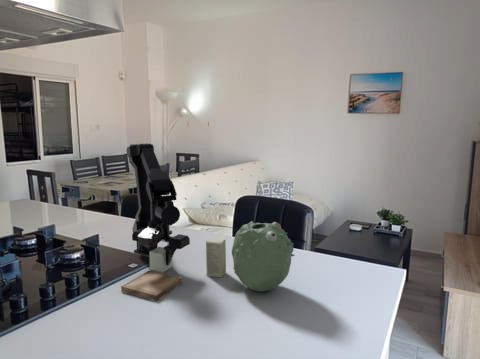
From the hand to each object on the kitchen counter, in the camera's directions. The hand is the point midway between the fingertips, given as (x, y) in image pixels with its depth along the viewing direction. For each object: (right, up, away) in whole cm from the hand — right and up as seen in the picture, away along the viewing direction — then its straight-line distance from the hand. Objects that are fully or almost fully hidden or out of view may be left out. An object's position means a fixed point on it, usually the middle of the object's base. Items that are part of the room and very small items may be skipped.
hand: (160, 263), depth 116 cm
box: (+18, -3, -3) cm, 19 cm away
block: (0, -2, 0) cm, 2 cm away
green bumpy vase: (+31, -4, -13) cm, 34 cm away
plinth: (0, -4, -13) cm, 14 cm away
